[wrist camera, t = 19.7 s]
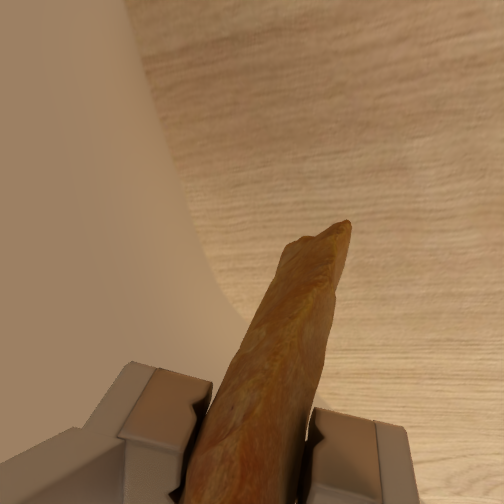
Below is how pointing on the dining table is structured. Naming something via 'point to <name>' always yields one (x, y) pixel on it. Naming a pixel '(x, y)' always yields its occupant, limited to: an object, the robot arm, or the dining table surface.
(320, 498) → the robot arm
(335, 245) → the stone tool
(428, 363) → the dining table surface
